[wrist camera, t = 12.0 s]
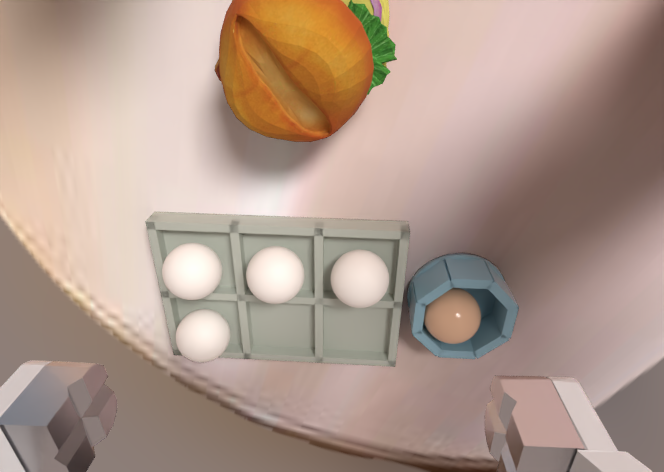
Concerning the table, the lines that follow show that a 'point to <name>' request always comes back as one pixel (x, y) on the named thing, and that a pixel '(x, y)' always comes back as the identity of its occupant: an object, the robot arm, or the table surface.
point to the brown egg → (453, 316)
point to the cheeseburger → (302, 63)
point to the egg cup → (478, 282)
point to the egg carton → (281, 286)
